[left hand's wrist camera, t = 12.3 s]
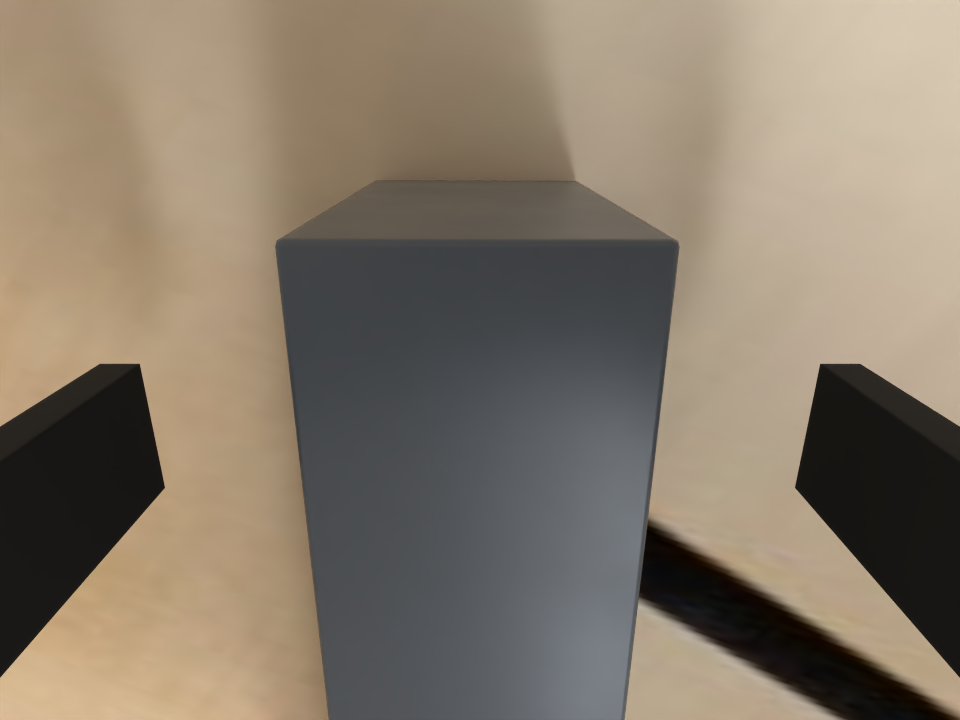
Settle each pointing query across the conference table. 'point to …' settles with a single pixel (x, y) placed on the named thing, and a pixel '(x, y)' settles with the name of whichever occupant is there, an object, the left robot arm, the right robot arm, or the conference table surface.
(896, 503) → the left robot arm
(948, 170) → the conference table surface
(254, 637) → the conference table surface
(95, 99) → the conference table surface
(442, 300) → the beam
